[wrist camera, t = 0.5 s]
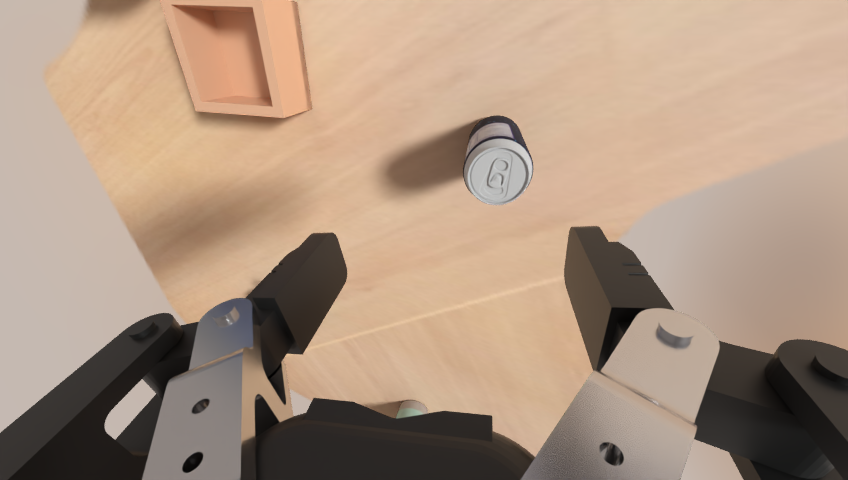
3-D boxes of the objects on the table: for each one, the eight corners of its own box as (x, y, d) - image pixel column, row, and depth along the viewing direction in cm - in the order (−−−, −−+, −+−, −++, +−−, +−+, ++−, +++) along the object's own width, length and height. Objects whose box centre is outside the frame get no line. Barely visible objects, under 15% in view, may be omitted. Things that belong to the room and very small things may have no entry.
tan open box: (207, -1, 32) (156, -11, 27) (297, 2, 31) (260, -8, 26) (234, 103, 38) (195, 111, 33) (312, 108, 36) (284, 118, 31)
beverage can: (463, 159, 36) (455, 201, 26) (476, 109, 33) (472, 133, 23) (511, 170, 36) (520, 216, 26) (528, 120, 33) (546, 150, 23)
